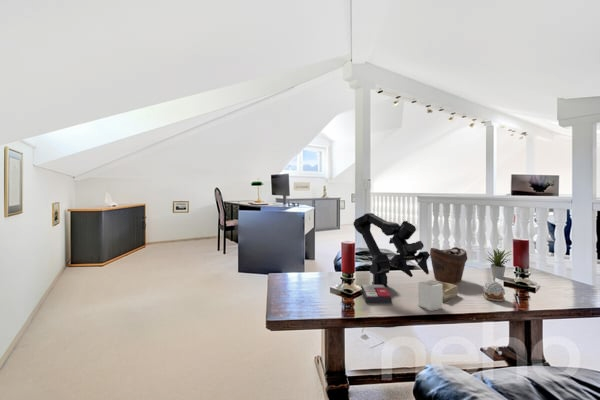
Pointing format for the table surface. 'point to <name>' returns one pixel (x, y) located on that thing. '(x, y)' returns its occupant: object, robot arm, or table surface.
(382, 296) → the red and white box
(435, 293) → the white upright block
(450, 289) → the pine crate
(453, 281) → the brown flower pot
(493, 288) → the decorative ornament
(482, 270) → the table surface
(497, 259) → the house plant
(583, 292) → the table surface
